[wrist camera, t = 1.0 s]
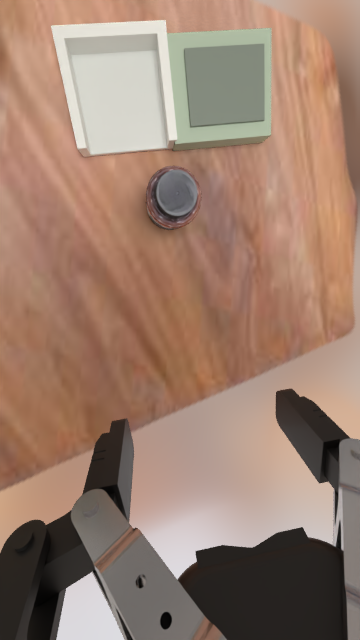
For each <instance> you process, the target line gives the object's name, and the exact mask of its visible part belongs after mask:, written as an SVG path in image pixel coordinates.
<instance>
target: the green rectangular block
mask: <svg viewBox="0 0 360 640" xmlns="http://www.w3.org/2000/svg"><path fill="white" fill-rule="evenodd" d="M167 41H168V51H169V61H170V70H171V80H172V90H173V100H174V110H175V120H176V130H177V141H175V143H174V146H173V151H179V150H190V149H200V148H211V147H222V146H232V145H243V144H254V143H262V142H263V141H265V140H266V139H267V138H268V137H269V136H271V28H261V29H242V30H223V31H204V32H185V33H167Z"/></svg>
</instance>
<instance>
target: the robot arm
mask: <svg viewBox="0 0 360 640" xmlns="http://www.w3.org/2000/svg"><path fill="white" fill-rule="evenodd" d="M276 419H277V421H278V424H279V426H280V428H281V429H282V431H283V432H284V433H285V435H286V436H287V438H288V439H289V441H290V442H291V443H292V445H293V446H294V448H295V449H296V451H297V452H298V453H299V455H300V456H301V458H302V459H303V460H304V462H305V464H306V465H307V466H308V468H309V469H310V470H311V472H312V474H313V475H314V476H315V478H316V479H317V481H318V482H319V483H324V482H328V481H329V483H330V484H331V485H332V487H333V488H334V493H333V494H334V496H333V498H334V499H333V501H334V503H333V506H334V507H333V513H334V514H333V515H334V516H333V518H334V519H333V527H334V528H333V545H331V544H329V543H327V542H324V541H321V540H318V539H314V538H308V537H307V535H306V533H305V531H304V529H303V528H302V527H301V528H297V529H292V530H288V531H283V532H279V533H276V534H274V535H273V536H271V537H270V538H268V539H267V540H265V541H264V542H262V543H260V544H259V545H257V546H255V547H253V548H246V547H236V546H235V547H234V546H225V545H221V546H217V547H213V548H209V549H204V550H199V551H196V558H197V562H196V563H194V564H192V565H191V566H190V567H189V568H187V569H186V570H185V571H184V573H182V575H181V576H180V577H179V578H178V580H177V579H176V578H175V577H174V575H173V574H172V572H171V571H170V570H169V568H168V567H167V566H166V564H165V563H164V562H163V560H162V559H161V558H160V557H159V555H158V554H157V552H156V551H155V550H154V548H153V547H152V546H151V544H150V543H149V542H148V541H147V539H146V538H145V536H144V535H143V534H142V533H141V531H140V530H139V529H138V528H135V529H133V528H132V526H131V525H130V524H129V516H130V502H131V488H132V473H133V458H134V447H133V440H132V436H131V432H130V428H129V423H128V420H127V419H121V420H116V421H112V423H111V428H110V433H104V434H102V435H101V436H100V438H99V439H98V441H97V442H96V444H95V448H94V453H93V456H92V460H91V464H90V467H89V471H88V475H87V479H86V483H85V487H84V491H83V494H82V496H81V497H80V498H79V499H78V500H77V501H76V503H75V504H74V506H73V508H72V510H71V511H70V512H68V513H67V514H66V515H64V516H62V517H61V518H59V519H57V520H55V521H53V522H51V523H49V524H47V525H45V523H44V522H43V521H41V520H32V521H29V522H27V523H25V524H23V525H22V526H20V527H19V528H17V529H16V530H15V531H14V532H13V533H12V535H10V537H9V538H8V539H7V541H6V542H5V544H4V546H3V548H2V550H1V553H0V640H56V637H57V632H58V627H59V622H60V616H61V611H62V606H63V601H64V596H65V591H66V588H67V587H68V586H70V585H72V584H73V583H75V582H77V581H78V580H80V579H81V578H83V577H84V576H86V575H88V574H89V573H91V572H92V573H93V575H94V577H95V579H96V581H97V583H98V584H99V587H100V589H101V591H102V593H103V595H104V597H105V599H106V601H107V602H108V605H109V607H110V609H111V611H112V613H113V615H114V617H115V619H116V621H117V624H118V626H119V628H120V630H121V633H122V635H123V637H124V639H125V640H360V440H358V439H351V438H350V437H349V436H348V435H346V433H345V432H344V431H343V430H342V429H340V428H339V427H338V426H337V425H336V424H335V423H334V422H333V421H332V420H331V419H330V418H329V417H328V416H327V415H326V414H325V413H324V412H323V411H322V410H321V409H320V408H319V407H318V406H317V405H316V404H315V403H314V402H313V401H311V400H309V399H307V398H306V397H299V395H298V394H296V392H295V391H294V390H293V389H286V390H280V391H277V392H276Z"/></svg>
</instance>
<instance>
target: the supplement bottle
mask: <svg viewBox="0 0 360 640" xmlns="http://www.w3.org/2000/svg"><path fill="white" fill-rule="evenodd" d="M201 198H202V197H201V189H200V186H199V183H198V181H197V180H196V178H195V177H194V176H193V175H192V174H191V173H190V172H189V171H188V170H186V169H184V168H182V167H179V166H168V167H164V168H162V169H160V170H159V171H157V172H156V173H155V174H154V175H153V177H152V178H151V180H150V182H149V184H148V187H147V191H146V205H147V211H148V214H149V216H150V218H151V220H152V221H153V223H155V224H156V225H157V226H158V227H160V228H163V229H166V230H173V229H177V228H180V227H183V226H185V225H187V224H189V223H190V222H191V221H192V220H193V219H194V218H195V217H196V215H197V213H198V211H199V209H200V205H201Z"/></svg>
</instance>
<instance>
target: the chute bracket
mask: <svg viewBox="0 0 360 640" xmlns="http://www.w3.org/2000/svg"><path fill="white" fill-rule="evenodd" d="M51 28H52V33H53V38H54V42H55V47H56V51H57V56H58V61H59V65H60V70H61V75H62V79H63V84H64V88H65V93H66V98H67V102H68V107H69V112H70V116H71V121H72V125H73V130H74V135H75V139H76V144H77V149H78V150H79V151H80V153H81V154H82V155H83V157H90V156H101V155H112V154H122V153H133V152H144V151H155V150H165V149H173V146H174V143H175V141H177V130H176V120H175V110H174V100H173V90H172V80H171V70H170V61H169V51H168V41H167V31H166V21H165V20H157V21H136V22H115V23H95V24H74V25H53V26H51Z"/></svg>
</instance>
